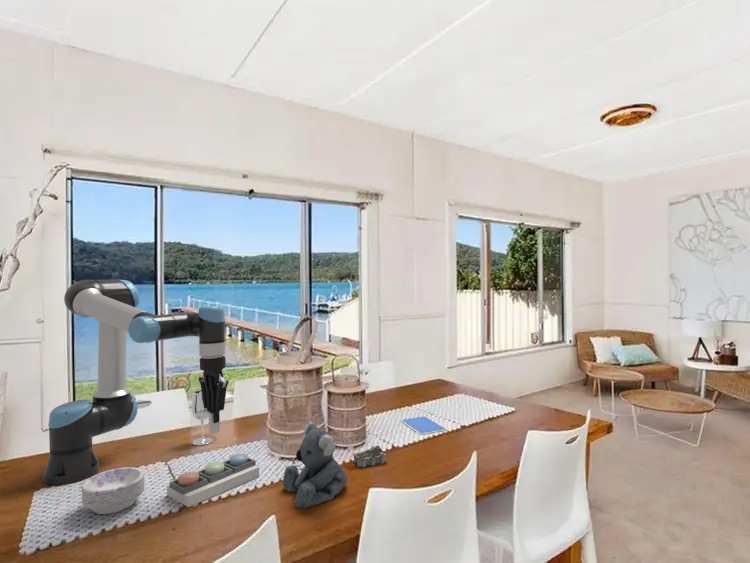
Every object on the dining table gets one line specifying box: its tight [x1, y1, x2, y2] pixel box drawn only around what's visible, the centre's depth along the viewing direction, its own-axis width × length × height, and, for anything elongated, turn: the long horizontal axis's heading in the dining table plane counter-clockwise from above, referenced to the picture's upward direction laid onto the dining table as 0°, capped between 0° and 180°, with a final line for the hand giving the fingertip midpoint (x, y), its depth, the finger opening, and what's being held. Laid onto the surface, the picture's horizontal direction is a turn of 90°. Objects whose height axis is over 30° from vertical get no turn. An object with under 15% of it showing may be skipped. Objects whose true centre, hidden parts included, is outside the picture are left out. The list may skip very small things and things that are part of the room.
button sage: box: [204, 461, 224, 476], centre depth 135 cm, size 6×6×2 cm
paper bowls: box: [81, 466, 146, 515], centre depth 124 cm, size 15×15×8 cm
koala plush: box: [282, 421, 348, 509], centre depth 130 cm, size 17×18×20 cm
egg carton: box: [352, 445, 388, 468], centre depth 151 cm, size 11×8×4 cm
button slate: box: [228, 453, 249, 466], centre depth 142 cm, size 6×6×2 cm
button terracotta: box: [177, 471, 199, 486], centre depth 128 cm, size 6×6×2 cm
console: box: [166, 456, 260, 508], centre depth 135 cm, size 25×12×4 cm, turn 142°
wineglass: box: [190, 389, 214, 446], centre depth 173 cm, size 8×8×20 cm
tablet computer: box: [400, 416, 447, 436], centre depth 187 cm, size 19×13×1 cm, turn 22°
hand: (214, 432), depth 135 cm, fingers closed
